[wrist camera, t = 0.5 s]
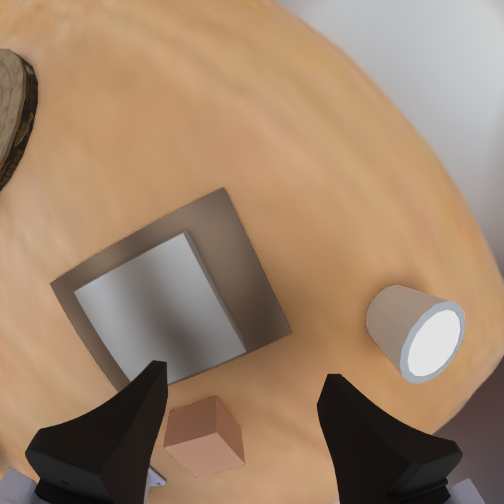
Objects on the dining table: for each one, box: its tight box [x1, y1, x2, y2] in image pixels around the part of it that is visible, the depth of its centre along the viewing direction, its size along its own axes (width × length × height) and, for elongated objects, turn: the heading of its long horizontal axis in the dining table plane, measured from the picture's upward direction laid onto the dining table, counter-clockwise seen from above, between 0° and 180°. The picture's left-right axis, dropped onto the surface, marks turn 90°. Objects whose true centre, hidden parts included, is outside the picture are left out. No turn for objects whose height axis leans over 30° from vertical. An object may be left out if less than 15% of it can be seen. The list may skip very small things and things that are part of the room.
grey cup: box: [365, 284, 465, 383], centre depth 21 cm, size 7×7×7 cm
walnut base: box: [50, 188, 292, 392], centre depth 20 cm, size 16×12×4 cm
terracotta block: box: [163, 396, 245, 478], centre depth 22 cm, size 5×5×5 cm
